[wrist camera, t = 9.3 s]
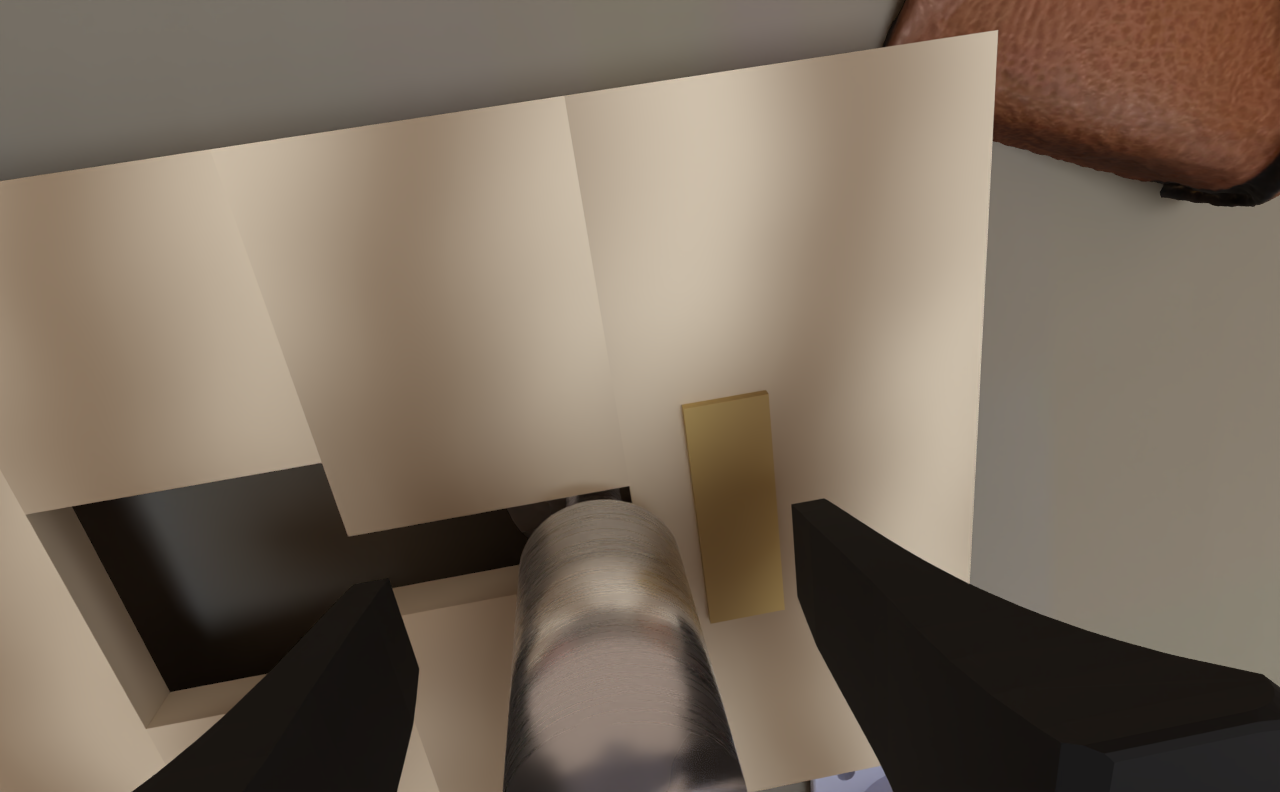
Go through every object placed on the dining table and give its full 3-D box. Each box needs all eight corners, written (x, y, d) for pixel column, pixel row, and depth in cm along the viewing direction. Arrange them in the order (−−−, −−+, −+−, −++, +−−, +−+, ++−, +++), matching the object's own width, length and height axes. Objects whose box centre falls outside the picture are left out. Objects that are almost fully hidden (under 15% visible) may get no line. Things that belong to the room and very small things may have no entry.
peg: (661, 374, 16) (778, 660, 8) (680, 520, 18) (796, 891, 9) (488, 403, 16) (418, 729, 8) (523, 548, 18) (496, 953, 9)
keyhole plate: (906, 45, 14) (1005, 29, 11) (902, 656, 21) (965, 756, 17) (-239, 219, 13) (-486, 255, 10) (124, 810, 19) (41, 945, 16)
